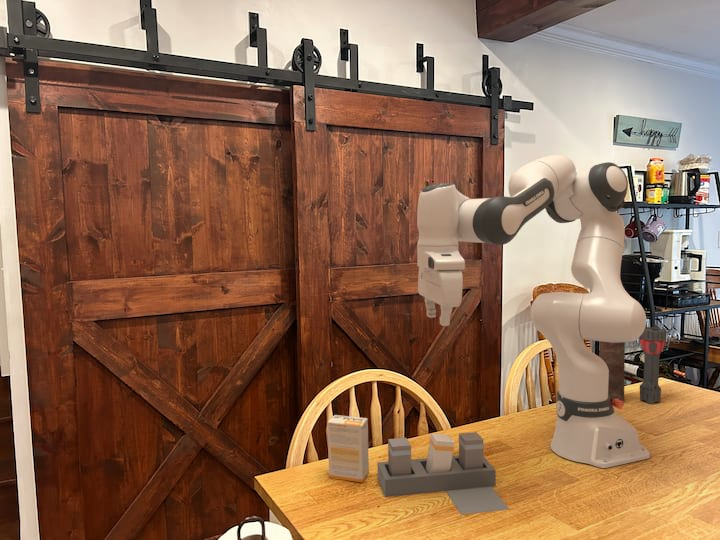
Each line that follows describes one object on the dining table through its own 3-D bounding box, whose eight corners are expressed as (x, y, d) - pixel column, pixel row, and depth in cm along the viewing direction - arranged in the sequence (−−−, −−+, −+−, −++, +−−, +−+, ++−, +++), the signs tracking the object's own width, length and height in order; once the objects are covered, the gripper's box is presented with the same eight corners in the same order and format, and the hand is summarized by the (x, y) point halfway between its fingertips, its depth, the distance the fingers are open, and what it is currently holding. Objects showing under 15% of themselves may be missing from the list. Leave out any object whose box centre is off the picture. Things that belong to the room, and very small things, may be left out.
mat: (489, 485, 113) (489, 484, 113) (509, 511, 103) (509, 509, 103) (444, 490, 112) (444, 488, 112) (460, 516, 102) (460, 514, 102)
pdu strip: (480, 470, 120) (481, 453, 120) (495, 487, 112) (495, 469, 112) (377, 479, 116) (377, 462, 116) (385, 498, 109) (385, 479, 108)
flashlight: (648, 394, 171) (651, 324, 168) (669, 401, 163) (672, 329, 161) (629, 396, 168) (632, 326, 166) (650, 404, 161) (653, 331, 159)
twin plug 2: (476, 466, 118) (476, 432, 117) (483, 475, 114) (483, 439, 113) (458, 468, 117) (458, 433, 116) (465, 476, 113) (465, 441, 112)
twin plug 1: (406, 472, 115) (406, 437, 114) (411, 482, 111) (411, 445, 110) (388, 474, 115) (387, 439, 114) (392, 483, 111) (392, 447, 110)
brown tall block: (601, 403, 163) (603, 339, 161) (594, 395, 170) (596, 334, 168) (627, 404, 162) (629, 340, 160) (619, 396, 169) (622, 335, 167)
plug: (443, 469, 117) (448, 434, 116) (449, 478, 113) (454, 442, 112) (425, 468, 116) (430, 433, 115) (430, 477, 112) (436, 441, 111)
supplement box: (369, 473, 119) (369, 417, 118) (362, 483, 115) (362, 425, 114) (335, 468, 122) (334, 413, 121) (327, 478, 117) (326, 421, 116)
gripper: (411, 255, 124) (411, 313, 126) (437, 262, 104) (437, 331, 106) (437, 254, 125) (437, 312, 127) (468, 261, 105) (467, 329, 107)
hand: (437, 321), depth 116 cm, fingers open, 8 cm apart
